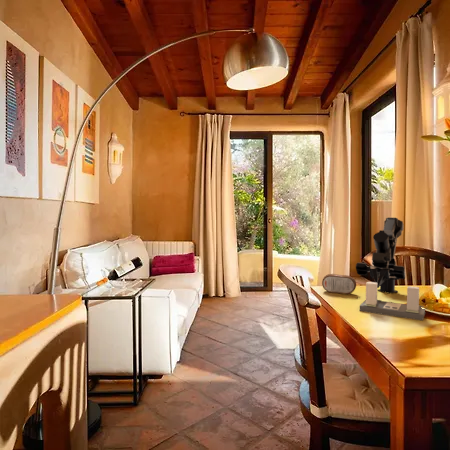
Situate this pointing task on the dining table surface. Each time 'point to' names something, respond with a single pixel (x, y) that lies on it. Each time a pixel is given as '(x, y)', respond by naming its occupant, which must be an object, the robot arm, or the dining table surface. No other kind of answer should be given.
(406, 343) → the dining table surface
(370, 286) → the tab offwhite
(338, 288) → the tin
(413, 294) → the tab grey
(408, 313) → the switch bank
